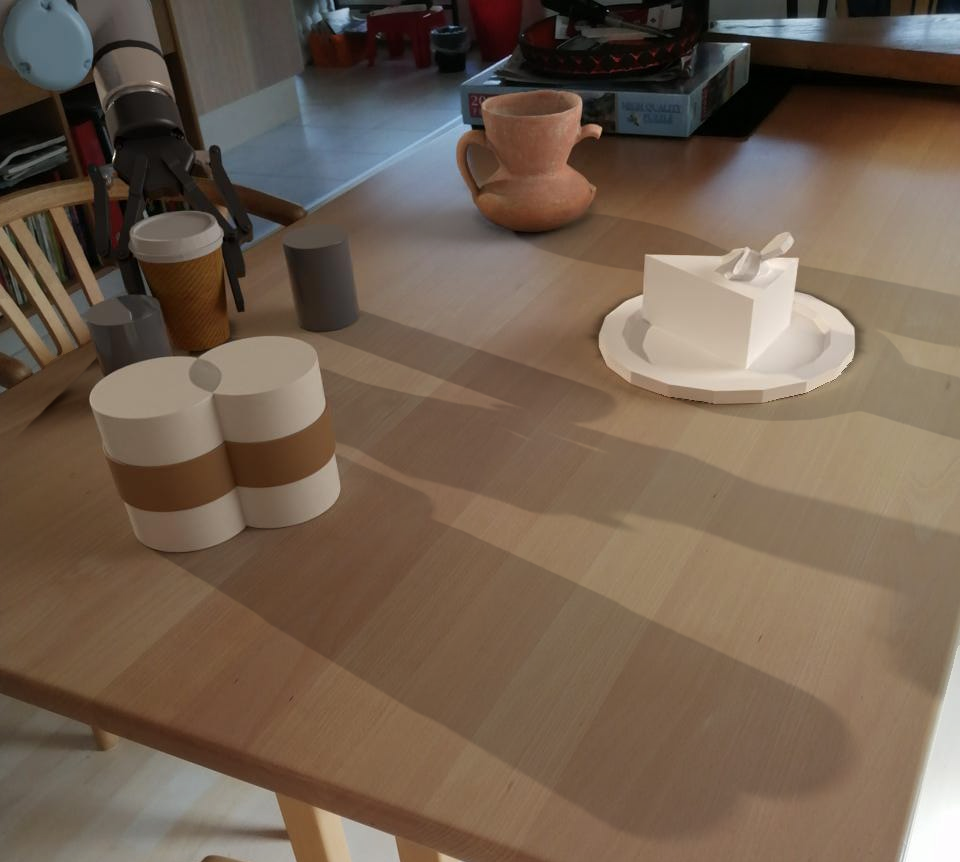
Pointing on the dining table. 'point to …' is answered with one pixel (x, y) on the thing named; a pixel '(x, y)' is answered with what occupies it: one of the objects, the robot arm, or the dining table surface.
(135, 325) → the grey tumblers
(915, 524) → the dining table surface
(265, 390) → the white banded double cylinder
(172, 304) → the disposable coffee cup
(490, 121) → the ceramic jug
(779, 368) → the white wedge on plate
